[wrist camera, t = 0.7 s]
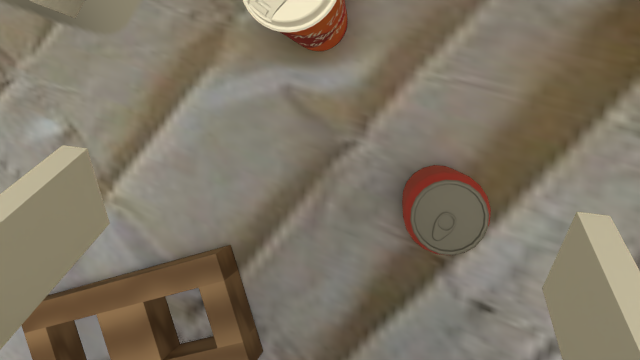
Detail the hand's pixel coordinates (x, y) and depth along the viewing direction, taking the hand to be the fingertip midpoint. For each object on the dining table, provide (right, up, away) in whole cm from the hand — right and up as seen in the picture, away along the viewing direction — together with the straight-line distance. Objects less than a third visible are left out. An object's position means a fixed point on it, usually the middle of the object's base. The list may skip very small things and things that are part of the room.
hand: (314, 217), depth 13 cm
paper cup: (0, +17, +33) cm, 37 cm away
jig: (-19, -15, +39) cm, 46 cm away
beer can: (+12, -1, +33) cm, 35 cm away
